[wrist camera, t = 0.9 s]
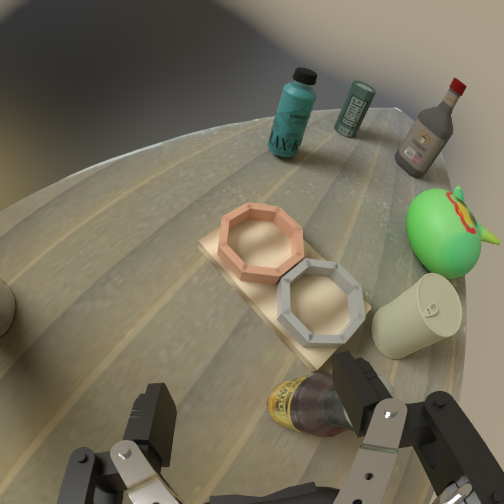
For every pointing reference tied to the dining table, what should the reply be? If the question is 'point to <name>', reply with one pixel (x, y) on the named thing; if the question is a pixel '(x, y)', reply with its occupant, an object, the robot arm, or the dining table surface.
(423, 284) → the can
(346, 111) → the can
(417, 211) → the green horned round ornament
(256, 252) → the board
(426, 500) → the dining table surface
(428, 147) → the liquor
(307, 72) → the beverage bottle
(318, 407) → the sauce bottle
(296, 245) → the collar terracotta
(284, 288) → the collar grey
